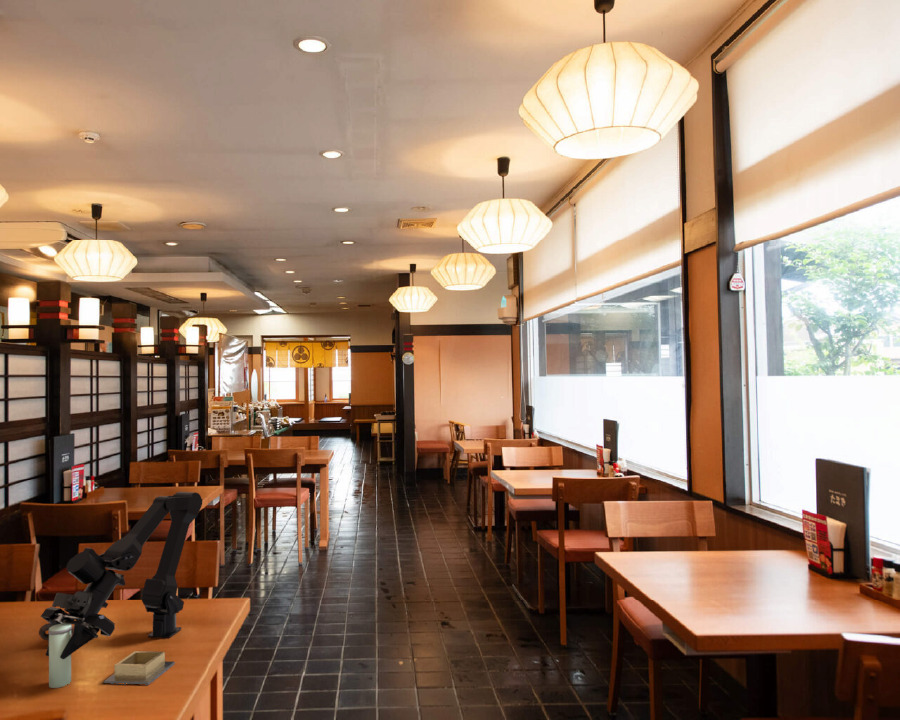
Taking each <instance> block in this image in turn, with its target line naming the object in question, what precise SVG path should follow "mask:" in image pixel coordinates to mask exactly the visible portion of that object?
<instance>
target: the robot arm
mask: <svg viewBox="0 0 900 720" xmlns="http://www.w3.org/2000/svg"><path fill="white" fill-rule="evenodd" d="M202 506H203V498H202V496H201V494H200V493H198V492H196V491H195V492H194V491H193V492H190V491H178V492H176V493H174V494H172V495H165V496H163V495H158V496H157V497H155V498H154V499H153V501H152V504H151V505H150V506H149V507H148V509H147V510H146V511H144V513H143V515H142V516H141V517H140V519H139V520H137V522H136V523H135V524H134V525H133V527H132V528H131V529H130V531H129V532H128V533H127V534H126V535H125V536H123V537H122V538H120V539H117V540H116V541H114V543H112V544H111V545H110V546H109V547H108V548H107V549H106V550H105V551H104V552H103V553H100V554H98V553H96V551H95V549H93V548H91V547H85V548H84V549H83V551H81V552H78V553H77V554H76V555H74V556H73V557H71V558H70V560H68V562H67V564H66V571H67V572H68V573H69V574H70V575H71V576H73V577H74V578H75V579H77V580H78V581H79V582H80V583H82V584H83V585H87V586H86V588H85V589H84V590H79V591H76V592H75V593H74V594H69V593H68V594H67V593H63V592H57V593H56V594H55V596H54V598H53V599H54V600H53V602H52V605H51V606H50V607H46V608H45V610H44V611H43V612H42V613H41V615H40V618H42V619H43V620H45V621H46V622H48V623H50V624H51V625H52V626H54V625H57V624H63V623H69V624H71V625H72V626H73V627H74V633H73V631H71V634H72V633H73V635H71V638H70V640H69V642H68V643H67V645H66V647H65V648H64V650H63V652H62V654H61V656H60V658H61V659H65V658H67V657H68V656H69V655H71V656H72V654H73V653H75V652H77V651H78V650H79V649H81V647H83V646H85V645H86V644H87V643H89V642H91V641H92V640H94V639H96V638H98V637H99V635H98V633H99V632H100V635H101V636H105V637H111V635H112V634H113V633H114V631H115V629H116V623H114V621H113V620H111V618H110V619H109V618H108V616H106V615H105V614H100V611H101V610H102V608H104V609H106V608H107V607H108V605H109V603H108V602H107V601H108V599H109V597H110V595H111V594H112V593H113V591H114V589H115V588H116V587H117V586H122V587H123V586H125V585H126V581H125V574H121V573H117V572H115V570H116V571H122V572H123V571H124V572H126V571H131V570H132V569H133V568H135V565H136V564H137V562H138V560H139V559H140V557H141V555H142V552H143V546H144V545H145V543H146V542H147V541H148V539H149V538H150V537H151V535H152V534H153V533H154V532H155V530H156V529H157V528H158V527H159V525H160V524H161V523H162V521H163V520H164V519H165V517H166V516H167V515H168V513H169V517H170V520H171V521H170V526H169V529H168V532H167V534H166V535H167V536H166V539H165V542H164V546H163V550H162V553H161V556H160V560H159V563H158V567H157V569H156V573H155V574H154V575H152V577H151V578H146V579H145V581H144V586H143V589H142V591H141V593H140V595H142V596H141V602H142V604H143V606H144V608H145V610H146V612H147V613H152V614H153V615H152V631H151V632H150V633H149V634H147V637H148V638H156V639H159V638H164V639H169V638H171V637H173V636H174V635H175V634H177V633H178V632H179V631H181V630H182V627H181V626H177V614H179V613H180V611H183V609H184V605H185V602H184V600H183V599H182V598H180V596H178V595H177V593H178V582H177V580H176V573H177V569H178V567H179V563H180V559H181V556H182V552H183V549H184V545H185V542H186V538H187V534H188V531H189V528H190V524H192V523H193V521H194V520H195V519H196V518H197V517H198V515H199V513H200V510H201V508H202ZM68 613H70V614H68ZM45 656H47V657H48V658H49V644H48V645H47V647H46V652H45Z"/></svg>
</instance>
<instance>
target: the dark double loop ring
mask: <svg viewBox="0 0 900 720" xmlns="http://www.w3.org/2000/svg"><path fill="white" fill-rule="evenodd" d="M67 613H68V614H70V613H69V612H67ZM50 627H52V625H51V624H50V623H49V622H48V623H45V624H43V625H42V626H41V627H40V629H39V631H38V635H39V637H40V638H41V639H42V640H45V641H47V642H48V643H49V632H48V631H49V628H50ZM71 631H73V633H74V625H72V630H71ZM46 632H48V633H46ZM73 633H72V634H71V636H72V635H73Z"/></svg>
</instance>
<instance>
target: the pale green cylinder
mask: <svg viewBox="0 0 900 720" xmlns="http://www.w3.org/2000/svg"><path fill="white" fill-rule="evenodd" d="M72 626H73V624H69V623H63V624H57V625H54V626H52V627H50V628H49V630H48V633H49V642H48V645H49V657H48V688H50V689H59V688H62V687H65V685H66V686H68V685H70V684H71V683H72V654H71V655H69V656H68V657H67V658H65V659H61V658H60V656H61V654H62V652H63V650H64V648H65V647H66V645H67V643H68V642H69V640H70V638H71V637H72V635H71V630H72ZM70 682H71V683H70ZM67 684H68V685H67Z"/></svg>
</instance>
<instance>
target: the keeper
mask: <svg viewBox="0 0 900 720" xmlns="http://www.w3.org/2000/svg"><path fill="white" fill-rule="evenodd" d="M165 655H166V651H152V650H151V651H144V650H143V651H141V650H138V651H137V650H134V651H132V652H131V653H130V654H128V655H127V656H125V657H124V658H123V659H121V660H120V661H118V662H117V663H116V664H114V673H113V674H112V675H110V676H109V677H107V678H106V679H105V680H103V684H104V683H111V684H110V685H119V684H118V683H124V684H123V685H126V683H127V684H145V685H144V686H150V685H151V684H152V683H153V682H154V681H156V680H155V679H159V678H160V677H161V676H162V675H163V674H164V673H165V672H167V671H168V670H169V669H170V668H172V667H173V666H174V665H176V663H175V661H170V660H169V661H166V660H165V659H166V658H165V657H166V656H165ZM151 682H152V683H151ZM114 683H116V684H114ZM150 683H151V684H150Z"/></svg>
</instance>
